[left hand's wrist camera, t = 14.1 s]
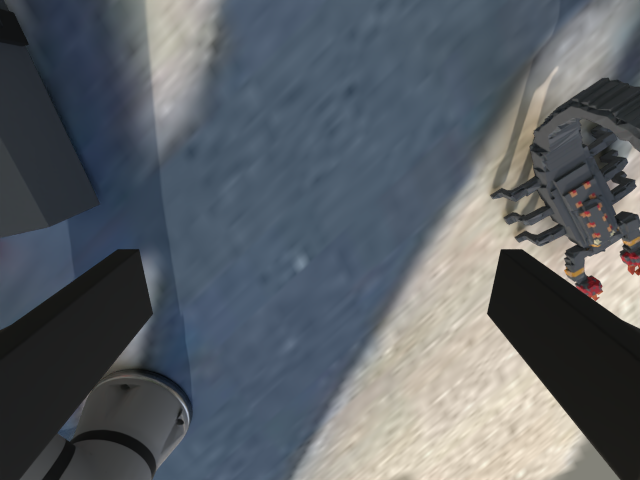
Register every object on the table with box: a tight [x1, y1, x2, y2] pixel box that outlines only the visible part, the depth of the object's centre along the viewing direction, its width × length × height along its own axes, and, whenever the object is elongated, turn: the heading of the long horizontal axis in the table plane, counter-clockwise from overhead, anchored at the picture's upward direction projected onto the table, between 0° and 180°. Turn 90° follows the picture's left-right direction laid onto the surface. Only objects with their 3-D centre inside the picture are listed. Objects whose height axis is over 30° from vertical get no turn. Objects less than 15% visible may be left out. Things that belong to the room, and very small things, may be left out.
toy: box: [490, 78, 640, 301], centre depth 31 cm, size 13×27×18 cm, turn 37°
